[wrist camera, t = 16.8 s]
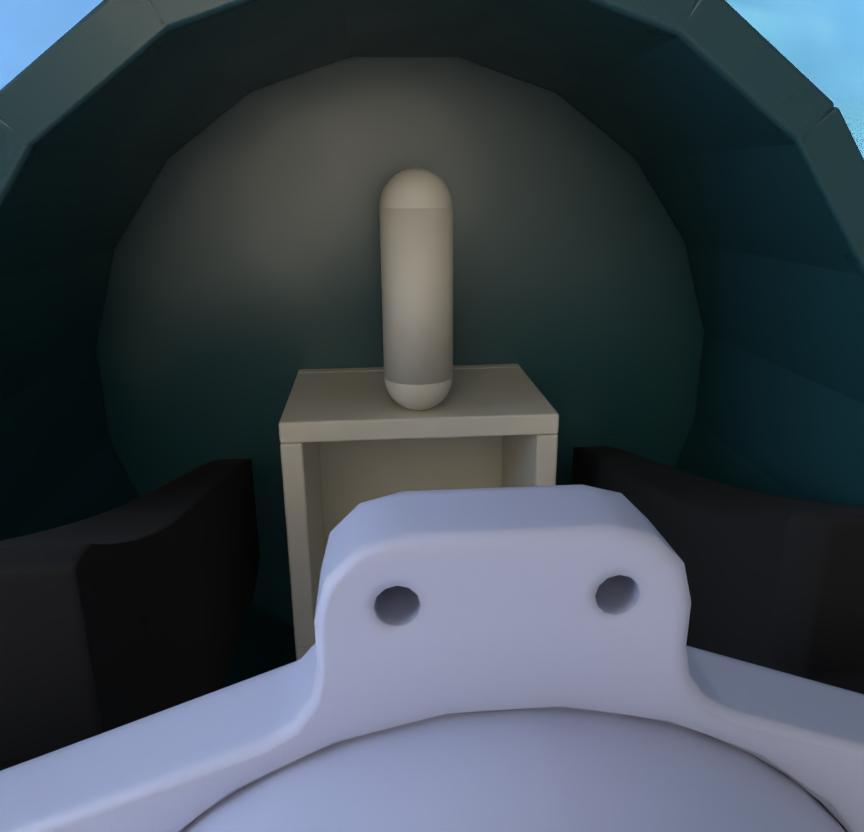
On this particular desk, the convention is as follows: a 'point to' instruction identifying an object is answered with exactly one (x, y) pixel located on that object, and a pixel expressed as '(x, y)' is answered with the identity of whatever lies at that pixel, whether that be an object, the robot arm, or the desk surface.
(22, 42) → the desk surface
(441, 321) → the scoop
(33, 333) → the pot
